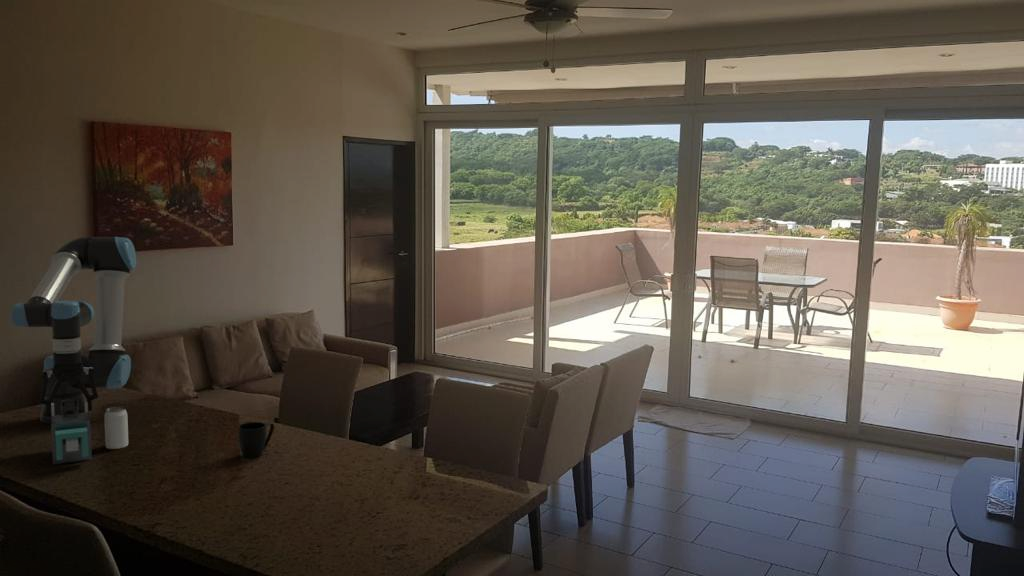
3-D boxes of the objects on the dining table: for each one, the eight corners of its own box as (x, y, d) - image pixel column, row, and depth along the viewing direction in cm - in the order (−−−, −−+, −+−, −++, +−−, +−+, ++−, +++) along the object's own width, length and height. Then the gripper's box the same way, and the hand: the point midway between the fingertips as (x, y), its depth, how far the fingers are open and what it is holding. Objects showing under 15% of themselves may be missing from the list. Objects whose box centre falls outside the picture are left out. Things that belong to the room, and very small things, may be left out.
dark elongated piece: (62, 427, 245) (61, 399, 244) (78, 425, 247) (77, 398, 246) (63, 452, 222) (62, 421, 221) (81, 450, 224) (80, 419, 223)
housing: (52, 454, 238) (51, 415, 236) (90, 449, 243) (88, 411, 241) (52, 464, 229) (51, 424, 228) (91, 459, 234) (90, 420, 233)
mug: (282, 452, 245) (281, 422, 244) (249, 462, 235) (248, 431, 234) (265, 446, 250) (265, 417, 248) (232, 456, 240) (232, 426, 239)
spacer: (56, 456, 228) (55, 430, 227) (87, 452, 232) (86, 427, 231) (56, 460, 224) (55, 434, 223) (88, 456, 228) (87, 431, 227)
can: (121, 450, 243) (120, 412, 242) (101, 449, 243) (99, 411, 242) (132, 443, 250) (131, 406, 248) (112, 442, 250) (110, 406, 248)
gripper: (26, 356, 232) (30, 430, 235) (106, 350, 243) (109, 422, 246) (27, 351, 239) (30, 424, 241) (105, 346, 249) (107, 415, 252)
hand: (70, 423), depth 244 cm, fingers open, 8 cm apart
